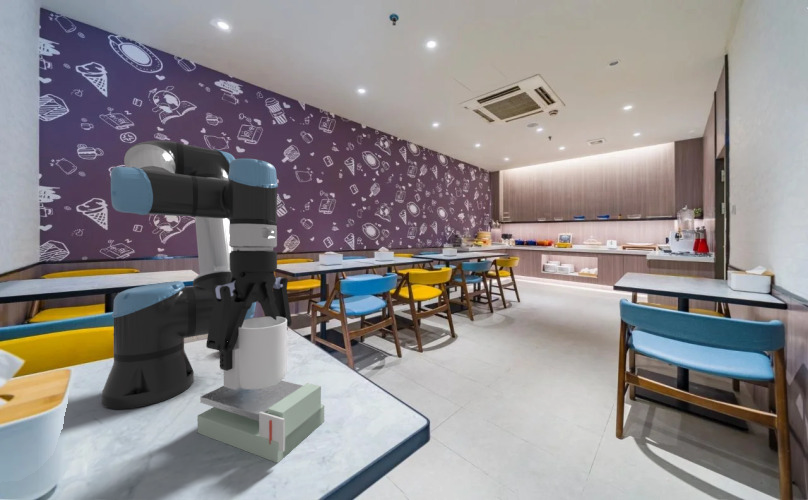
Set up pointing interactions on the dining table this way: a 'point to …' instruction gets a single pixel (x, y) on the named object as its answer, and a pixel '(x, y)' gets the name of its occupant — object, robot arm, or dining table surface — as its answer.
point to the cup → (262, 352)
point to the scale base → (268, 424)
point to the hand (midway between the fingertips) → (254, 375)
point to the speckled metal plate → (248, 398)
